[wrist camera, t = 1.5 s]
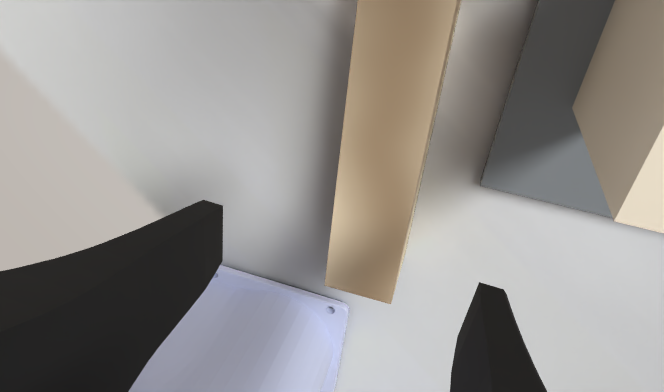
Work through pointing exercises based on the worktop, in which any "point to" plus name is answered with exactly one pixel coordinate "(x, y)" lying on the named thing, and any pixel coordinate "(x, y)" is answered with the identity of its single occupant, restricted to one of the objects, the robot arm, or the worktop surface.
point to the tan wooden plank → (386, 138)
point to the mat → (550, 111)
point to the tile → (627, 112)
